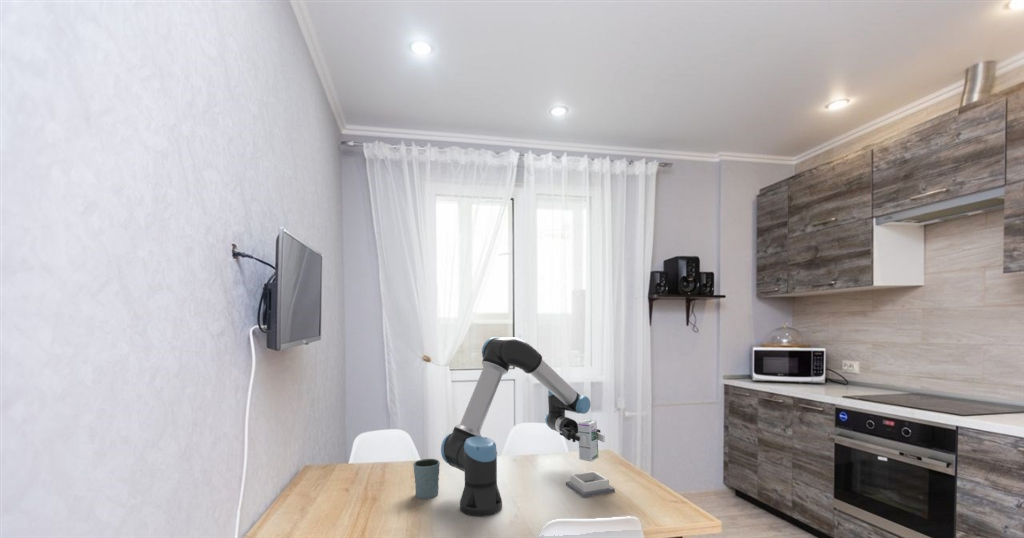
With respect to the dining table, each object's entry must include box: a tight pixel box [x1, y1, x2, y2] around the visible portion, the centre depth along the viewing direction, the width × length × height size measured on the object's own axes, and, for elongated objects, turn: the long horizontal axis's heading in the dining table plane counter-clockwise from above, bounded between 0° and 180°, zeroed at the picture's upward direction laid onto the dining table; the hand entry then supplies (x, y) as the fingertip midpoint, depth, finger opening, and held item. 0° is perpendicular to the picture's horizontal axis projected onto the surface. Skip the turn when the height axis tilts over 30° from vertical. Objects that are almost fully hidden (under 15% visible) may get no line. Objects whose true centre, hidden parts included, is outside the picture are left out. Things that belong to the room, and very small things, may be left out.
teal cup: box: [413, 458, 441, 500], centre depth 174 cm, size 10×10×12 cm
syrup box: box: [577, 419, 599, 462], centre depth 179 cm, size 6×6×14 cm
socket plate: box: [565, 470, 616, 498], centre depth 177 cm, size 14×14×4 cm
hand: (594, 439), depth 175 cm, fingers closed on syrup box, 8 cm apart
